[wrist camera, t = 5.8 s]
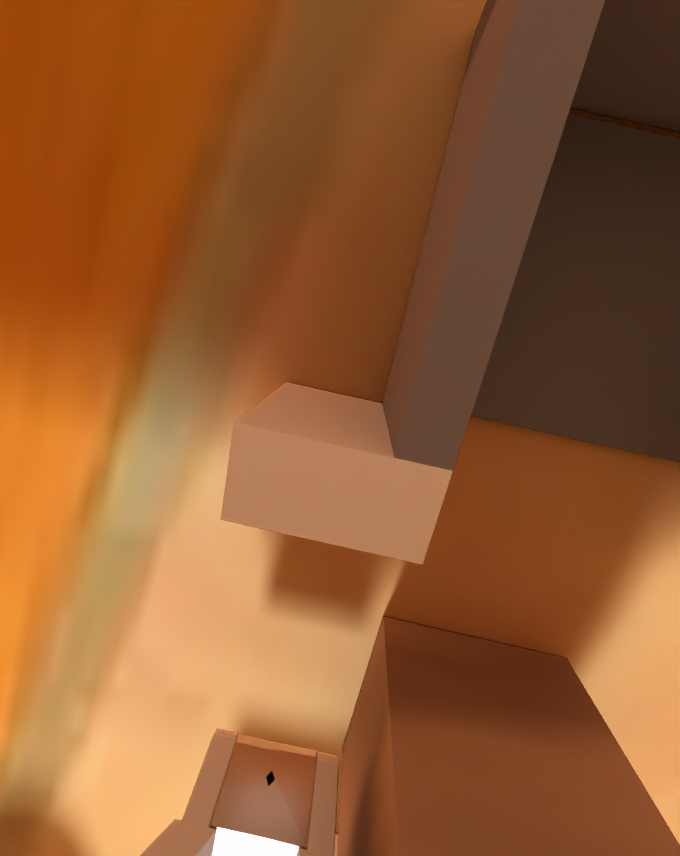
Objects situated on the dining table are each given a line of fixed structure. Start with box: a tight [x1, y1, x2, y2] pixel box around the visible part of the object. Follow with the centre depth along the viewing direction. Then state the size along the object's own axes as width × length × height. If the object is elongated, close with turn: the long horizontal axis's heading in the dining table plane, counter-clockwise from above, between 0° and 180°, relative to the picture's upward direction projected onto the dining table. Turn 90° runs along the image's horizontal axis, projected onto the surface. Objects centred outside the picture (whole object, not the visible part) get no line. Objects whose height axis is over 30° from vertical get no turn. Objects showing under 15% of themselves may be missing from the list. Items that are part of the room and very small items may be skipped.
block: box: [337, 616, 680, 856], centre depth 8 cm, size 5×5×5 cm
